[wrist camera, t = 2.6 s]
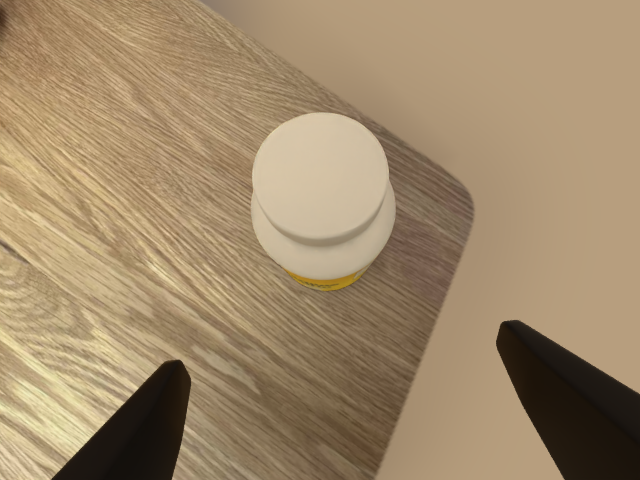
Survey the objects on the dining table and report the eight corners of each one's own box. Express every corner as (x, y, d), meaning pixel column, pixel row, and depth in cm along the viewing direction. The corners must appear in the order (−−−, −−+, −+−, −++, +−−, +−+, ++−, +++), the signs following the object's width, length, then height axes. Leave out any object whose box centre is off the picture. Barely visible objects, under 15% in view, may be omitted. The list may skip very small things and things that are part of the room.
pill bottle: (263, 233, 22) (189, 148, 11) (338, 185, 23) (343, 58, 11) (313, 311, 21) (288, 307, 9) (392, 258, 21) (457, 194, 10)
